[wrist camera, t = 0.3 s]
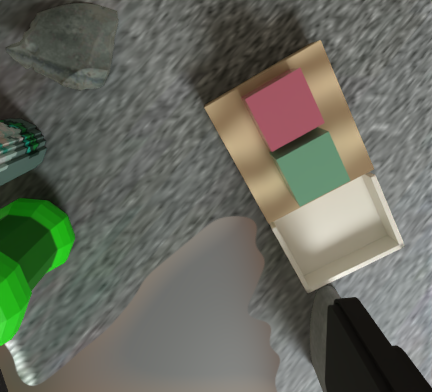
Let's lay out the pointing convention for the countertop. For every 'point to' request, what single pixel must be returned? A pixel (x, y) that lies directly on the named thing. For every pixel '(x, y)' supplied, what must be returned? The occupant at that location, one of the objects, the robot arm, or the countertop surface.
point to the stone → (70, 45)
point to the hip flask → (320, 330)
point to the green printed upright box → (19, 148)
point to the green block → (310, 166)
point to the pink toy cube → (283, 109)
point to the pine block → (259, 153)
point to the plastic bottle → (28, 255)
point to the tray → (338, 232)
